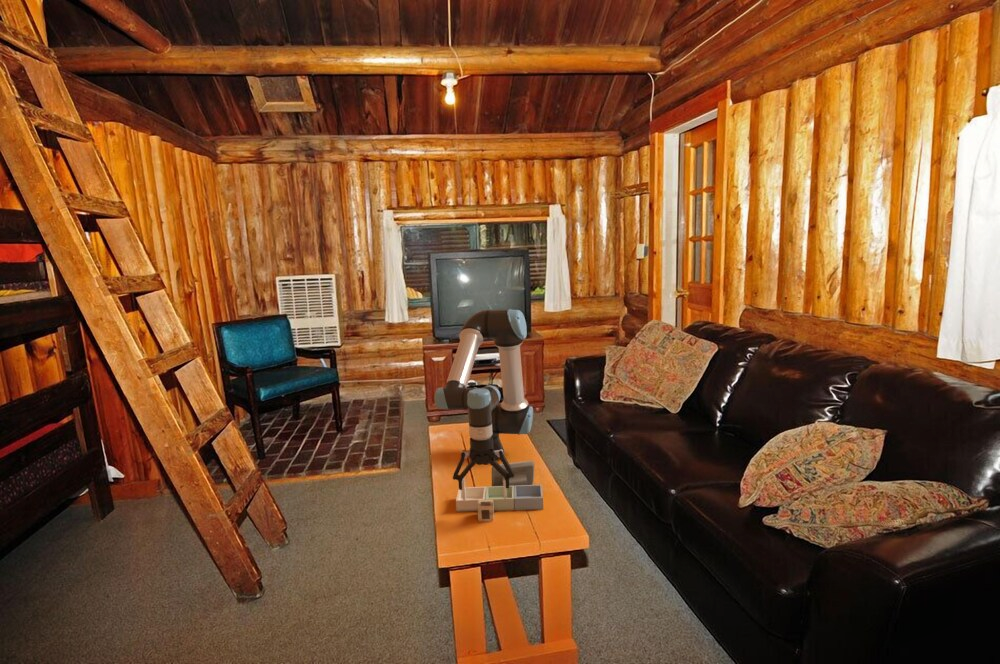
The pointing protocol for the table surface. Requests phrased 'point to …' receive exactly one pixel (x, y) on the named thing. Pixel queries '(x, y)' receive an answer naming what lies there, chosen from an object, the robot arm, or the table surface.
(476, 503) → the caddy cream
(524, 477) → the digital clock
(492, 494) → the box
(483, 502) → the letter cube
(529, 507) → the box
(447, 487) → the table surface
